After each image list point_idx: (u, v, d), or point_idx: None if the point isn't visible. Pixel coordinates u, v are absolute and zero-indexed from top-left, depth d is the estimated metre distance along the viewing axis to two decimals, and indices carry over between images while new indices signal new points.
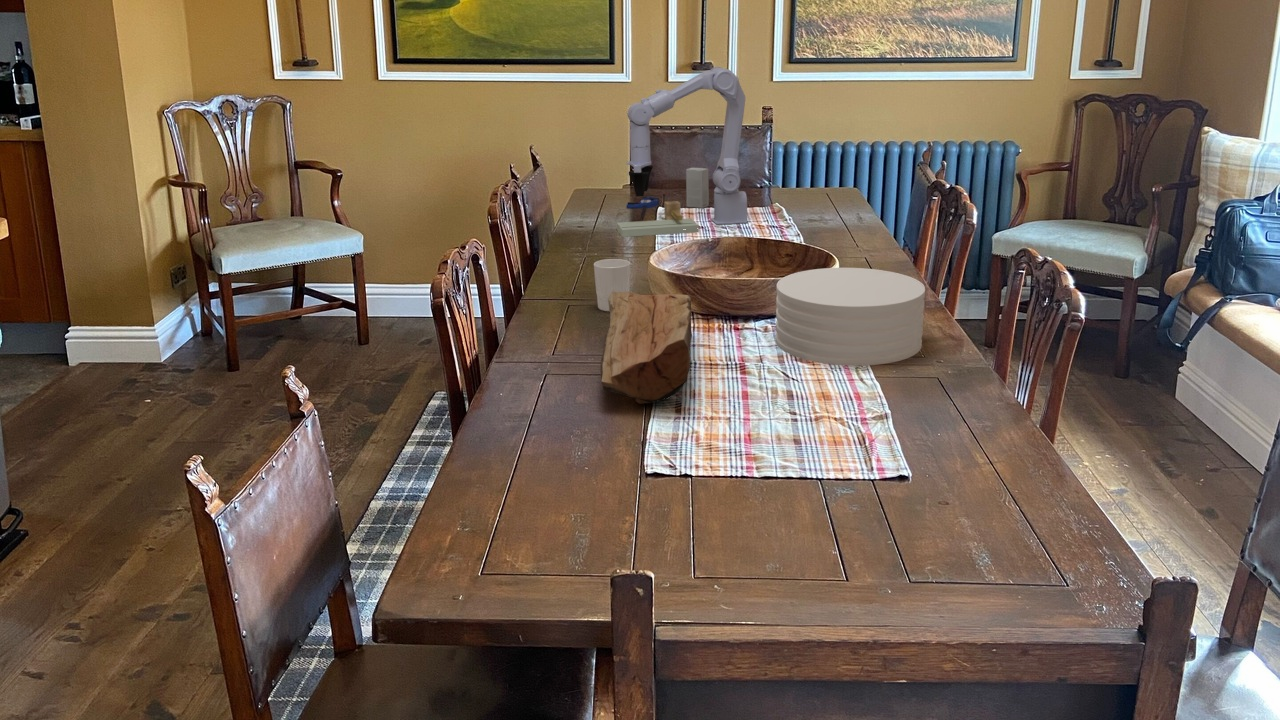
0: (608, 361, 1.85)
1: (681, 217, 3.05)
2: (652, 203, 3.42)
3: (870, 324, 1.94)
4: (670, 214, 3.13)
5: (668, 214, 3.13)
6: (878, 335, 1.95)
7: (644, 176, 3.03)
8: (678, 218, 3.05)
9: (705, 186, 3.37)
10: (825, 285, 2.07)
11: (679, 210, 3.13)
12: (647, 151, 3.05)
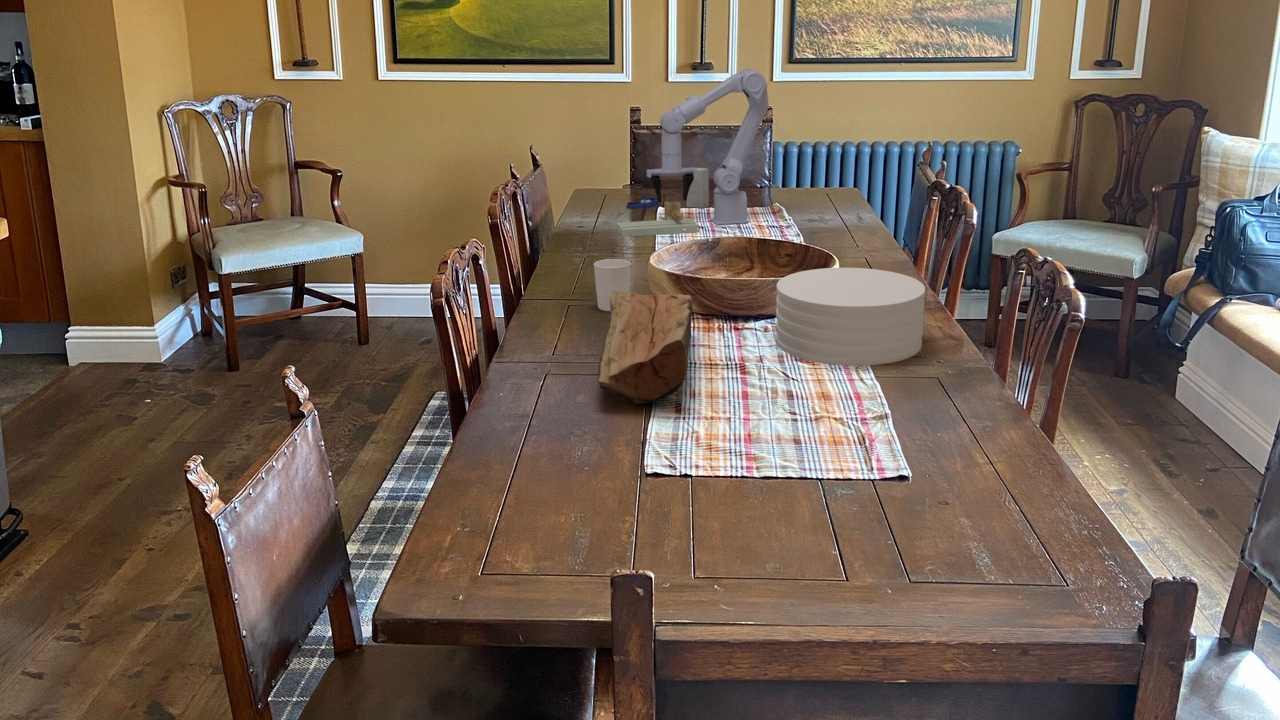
0: (606, 361, 1.85)
1: (681, 217, 3.05)
2: (652, 203, 3.42)
3: (870, 324, 1.94)
4: (670, 214, 3.13)
5: (668, 214, 3.13)
6: (878, 335, 1.95)
7: (653, 182, 3.10)
8: (678, 218, 3.05)
9: (705, 186, 3.37)
10: (825, 285, 2.07)
11: (679, 210, 3.13)
12: (667, 159, 3.08)
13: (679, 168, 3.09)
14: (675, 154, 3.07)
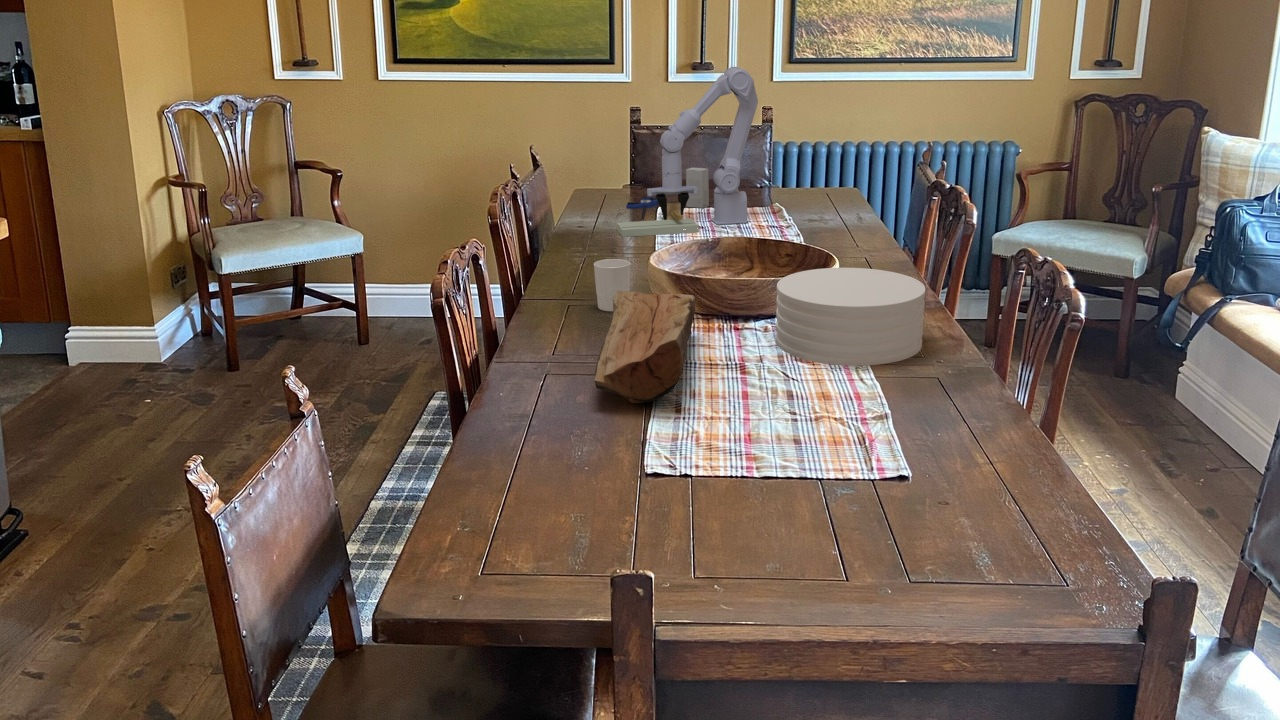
0: (604, 360, 1.85)
1: (681, 217, 3.05)
2: (652, 203, 3.42)
3: (870, 324, 1.94)
4: (670, 214, 3.13)
5: (668, 214, 3.13)
6: (878, 335, 1.95)
7: (659, 200, 3.12)
8: (678, 218, 3.05)
9: (705, 186, 3.37)
10: (825, 285, 2.07)
11: (679, 210, 3.13)
12: (667, 178, 3.09)
13: (679, 187, 3.11)
14: (675, 173, 3.09)
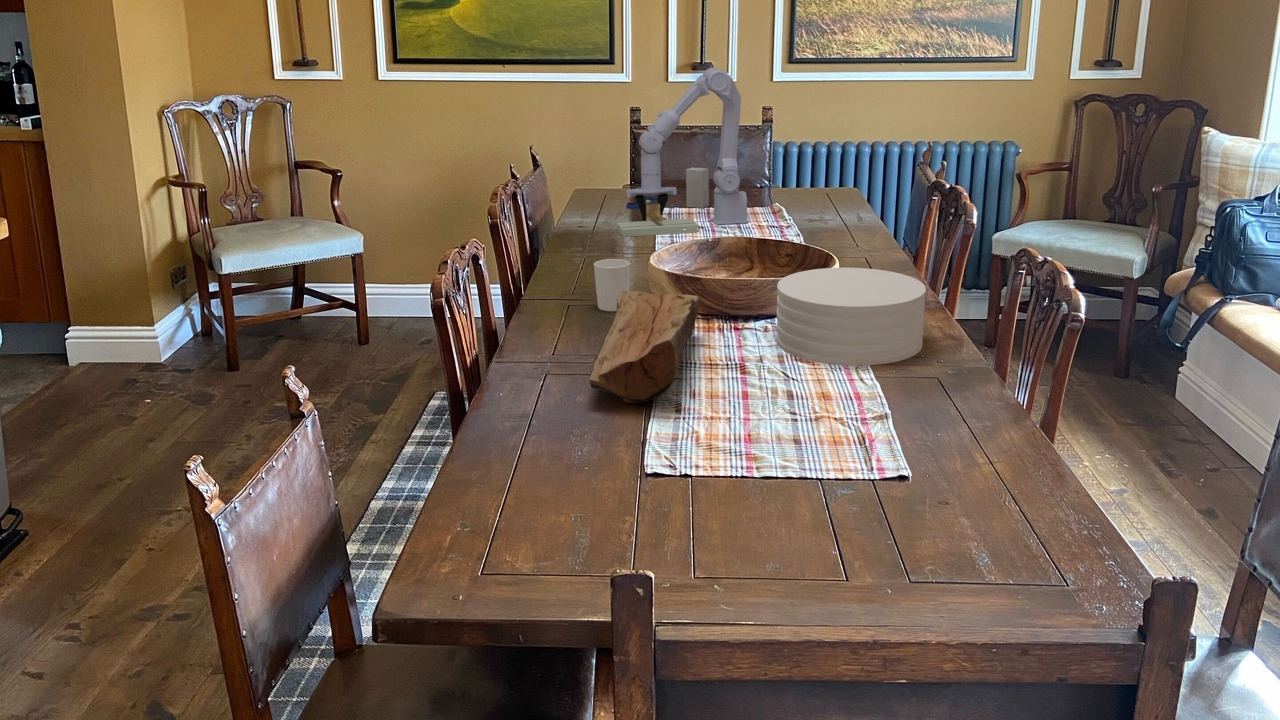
0: (601, 359, 1.85)
1: (662, 218, 3.04)
2: None
3: (871, 324, 1.94)
4: (650, 215, 3.12)
5: (648, 215, 3.12)
6: (879, 335, 1.95)
7: (637, 201, 3.11)
8: (659, 219, 3.04)
9: (705, 186, 3.37)
10: (826, 285, 2.07)
11: (659, 211, 3.12)
12: (646, 179, 3.08)
13: (658, 188, 3.10)
14: (654, 174, 3.08)
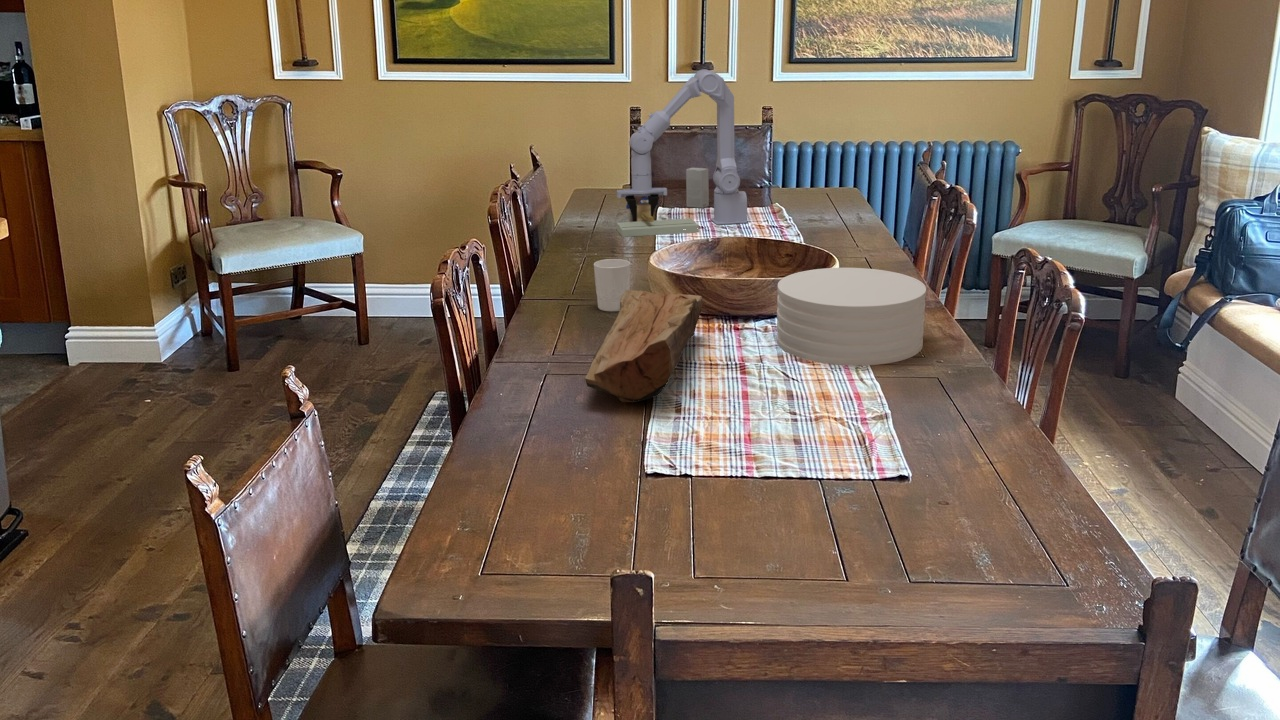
0: (598, 358, 1.86)
1: (652, 219, 3.04)
2: None
3: (871, 324, 1.94)
4: (640, 216, 3.12)
5: (638, 216, 3.12)
6: (879, 335, 1.95)
7: (628, 202, 3.10)
8: (649, 220, 3.04)
9: (705, 186, 3.37)
10: (826, 285, 2.07)
11: (649, 212, 3.12)
12: (637, 180, 3.08)
13: (649, 188, 3.10)
14: (645, 175, 3.07)
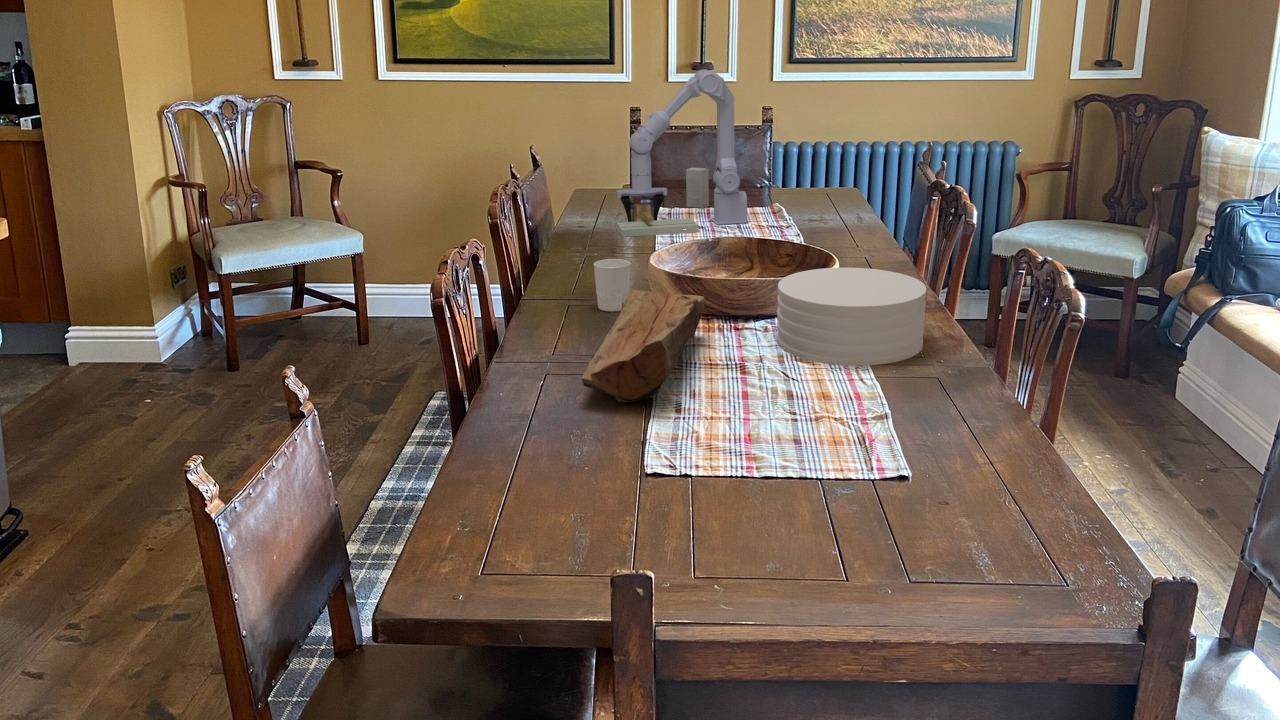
0: (596, 358, 1.86)
1: (652, 219, 3.04)
2: (652, 203, 3.42)
3: (871, 324, 1.94)
4: (640, 216, 3.12)
5: (638, 216, 3.12)
6: (879, 335, 1.95)
7: (623, 202, 3.10)
8: (649, 220, 3.04)
9: (705, 186, 3.37)
10: (826, 285, 2.07)
11: (649, 212, 3.12)
12: (637, 180, 3.08)
13: (649, 188, 3.10)
14: (644, 175, 3.07)
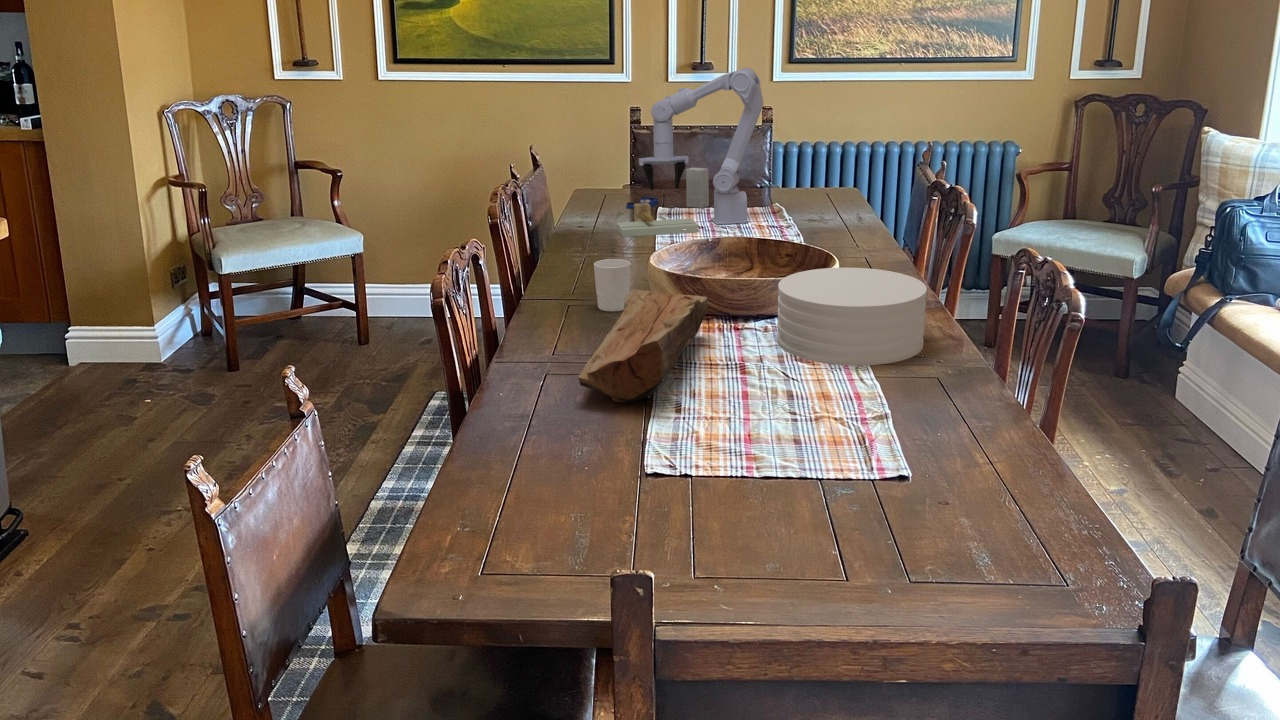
0: (594, 358, 1.86)
1: (652, 219, 3.04)
2: (652, 203, 3.42)
3: (872, 324, 1.94)
4: (640, 216, 3.12)
5: (638, 216, 3.12)
6: (880, 335, 1.95)
7: (645, 170, 3.15)
8: (649, 220, 3.04)
9: (705, 186, 3.37)
10: (827, 285, 2.07)
11: (649, 212, 3.12)
12: (659, 148, 3.13)
13: (671, 156, 3.15)
14: (667, 143, 3.13)
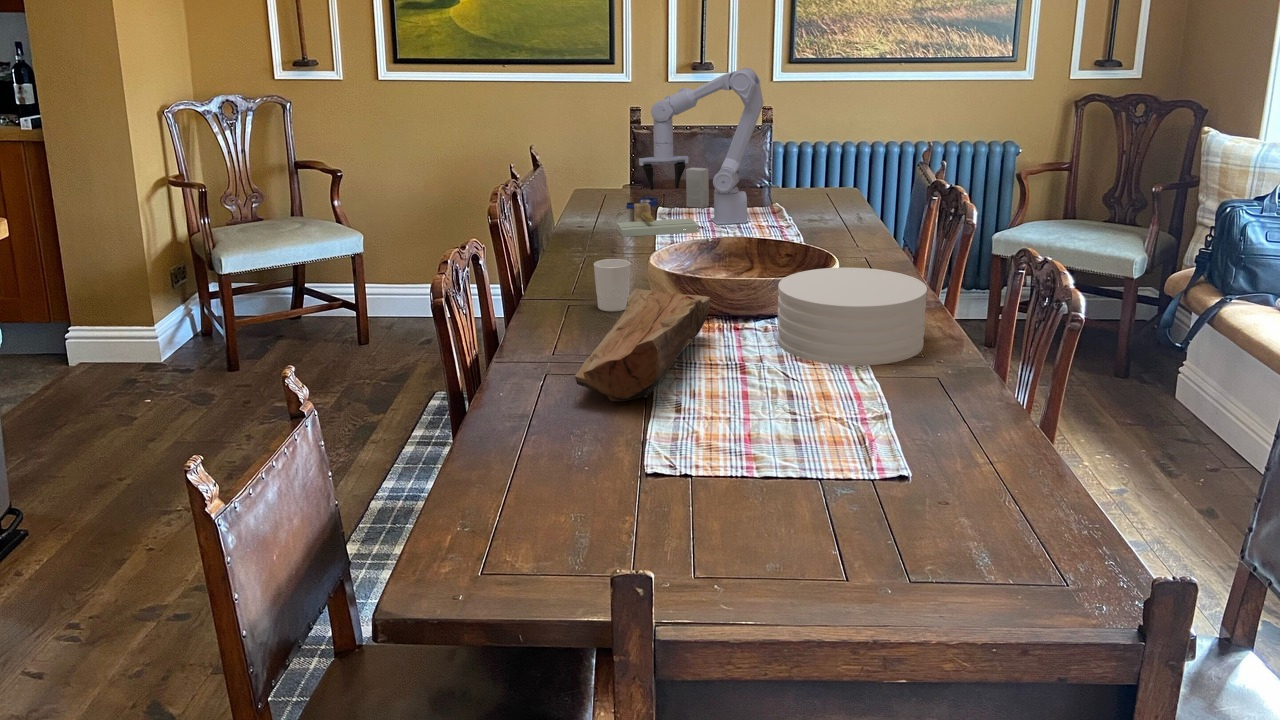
0: (592, 357, 1.87)
1: (652, 219, 3.04)
2: (652, 203, 3.42)
3: (872, 324, 1.94)
4: (640, 216, 3.12)
5: (638, 216, 3.12)
6: (880, 335, 1.95)
7: (645, 170, 3.15)
8: (649, 220, 3.04)
9: (705, 186, 3.37)
10: (827, 285, 2.07)
11: (649, 212, 3.12)
12: (659, 148, 3.13)
13: (671, 156, 3.15)
14: (667, 143, 3.13)
